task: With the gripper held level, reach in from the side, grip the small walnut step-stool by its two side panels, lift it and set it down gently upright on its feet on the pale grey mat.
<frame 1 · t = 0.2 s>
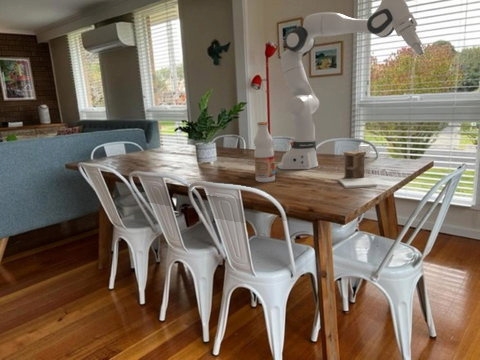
hand: (420, 54, 163), 54 cm above the table, tool tilted 30°, fingers open, 8 cm apart
shot glass: (364, 156, 222), on the table
mat: (357, 183, 160), on the table
fruit juice: (265, 180, 177), on the table
stool: (354, 177, 172), on the table
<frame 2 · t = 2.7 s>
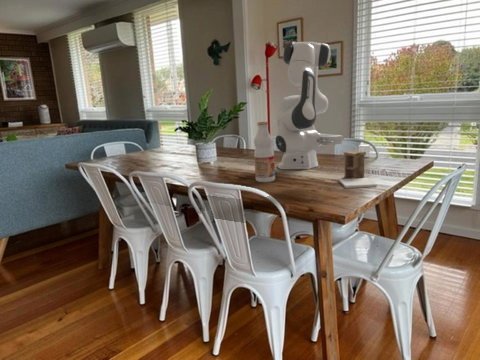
hand: (335, 137, 162), 20 cm above the table, tool horizontal, fingers open, 8 cm apart
nothing on the table moved.
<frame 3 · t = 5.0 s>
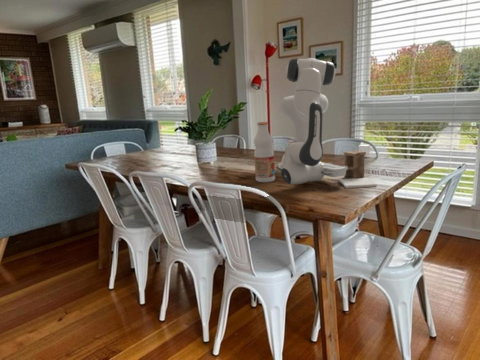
hand: (339, 166, 167), 6 cm above the table, tool horizontal, fingers open, 8 cm apart
nothing on the table moved.
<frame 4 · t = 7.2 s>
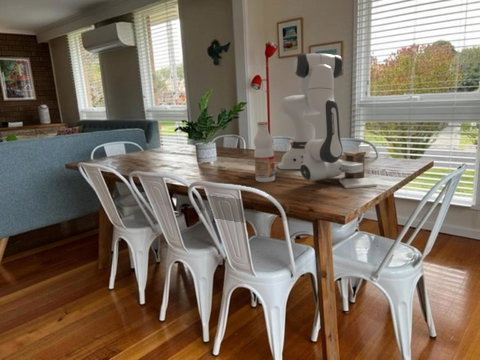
hand: (355, 163, 171), 7 cm above the table, tool horizontal, fingers closed on stool, 6 cm apart
stool: (354, 177, 172), on the table, touching gripper
everything else where it was.
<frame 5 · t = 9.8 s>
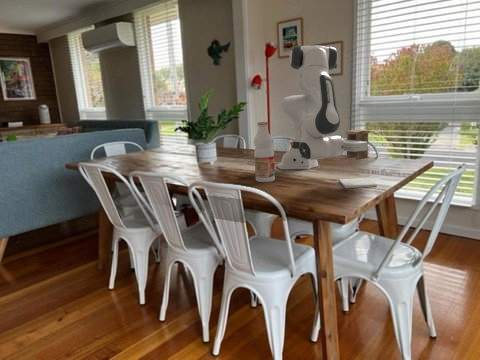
hand: (358, 142, 159), 18 cm above the table, tool horizontal, fingers closed on stool, 6 cm apart
stool: (357, 158, 160), point 11 cm above the table, touching gripper
everything else where it was.
when the fingers open (9 cm above the table, at t = 12.6 s): stool drops 1 cm, resting on mat.
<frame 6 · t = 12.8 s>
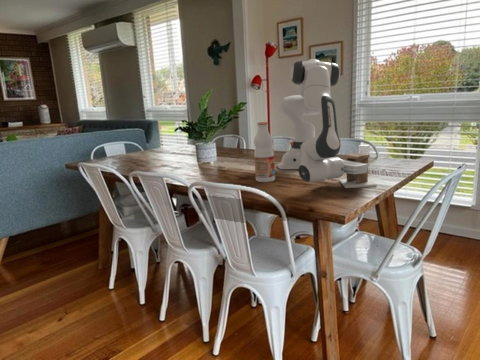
hand: (358, 163, 158), 9 cm above the table, tool horizontal, fingers open, 8 cm apart
stool: (357, 181, 160), point 1 cm above the table, touching mat
everything else where it was.
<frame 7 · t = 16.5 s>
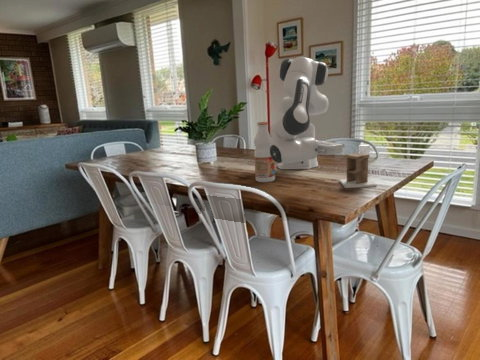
hand: (335, 144, 150), 19 cm above the table, tool horizontal, fingers open, 8 cm apart
nothing on the table moved.
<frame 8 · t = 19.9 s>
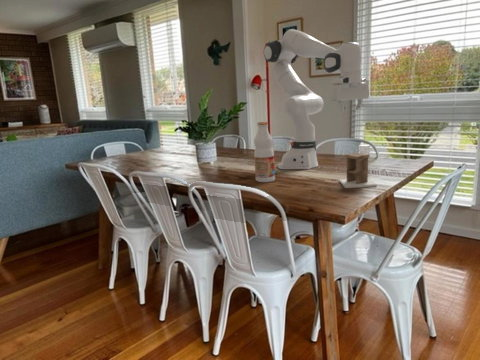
hand: (350, 110, 169), 31 cm above the table, tool pointing down, fingers open, 8 cm apart
nothing on the table moved.
at the end: stool inside the target area on the mat (0.1 cm from its centre), point 1.0 cm above the mat's base; stool tilted 0°; the gripper is holding nothing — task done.
